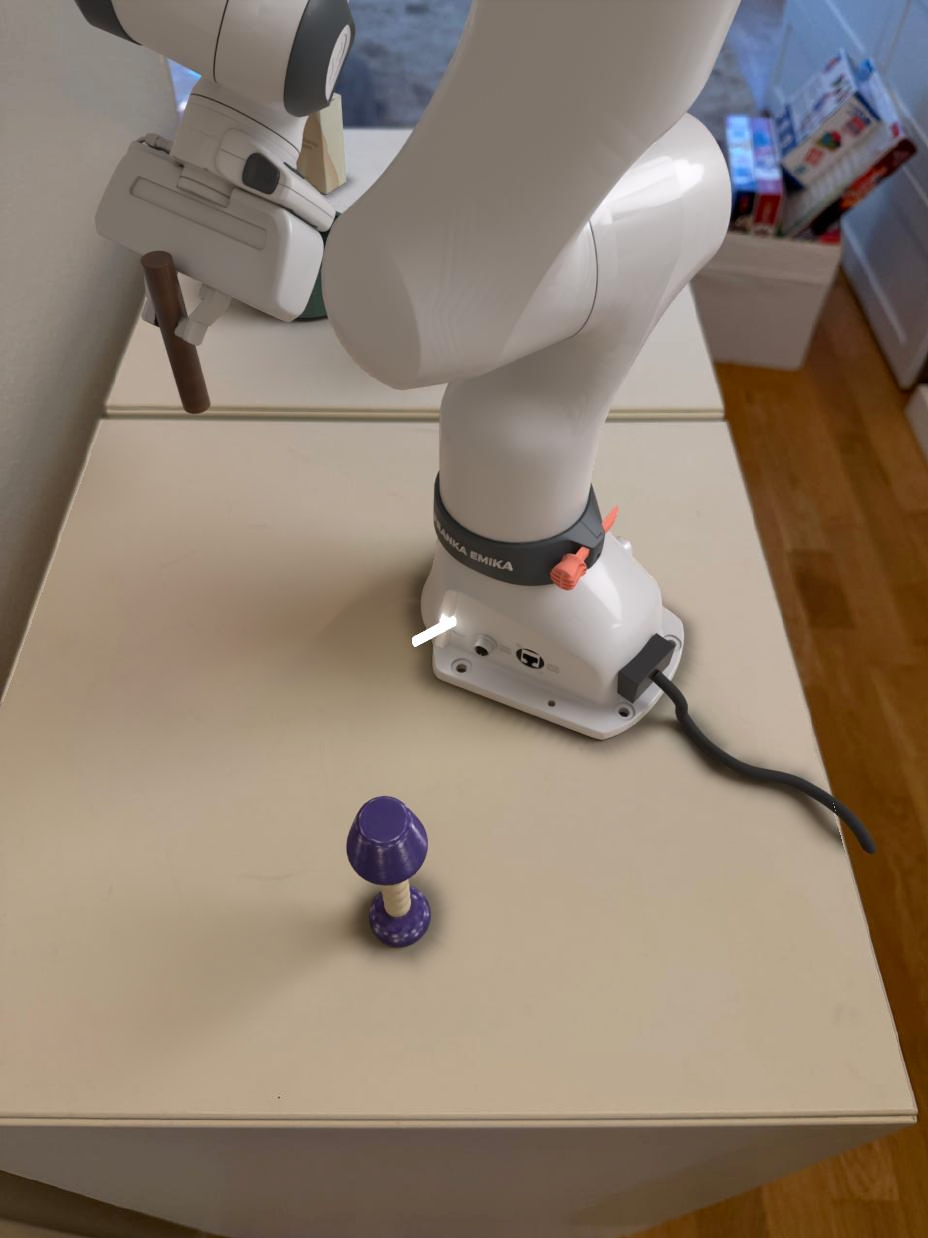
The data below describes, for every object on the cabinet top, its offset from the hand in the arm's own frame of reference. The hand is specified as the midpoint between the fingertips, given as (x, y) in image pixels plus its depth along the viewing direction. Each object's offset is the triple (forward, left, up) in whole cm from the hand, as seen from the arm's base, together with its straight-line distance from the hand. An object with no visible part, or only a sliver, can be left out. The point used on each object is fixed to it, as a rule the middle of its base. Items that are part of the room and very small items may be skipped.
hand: (170, 333), depth 74 cm
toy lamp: (-40, +23, -17) cm, 49 cm away
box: (+27, -49, -17) cm, 58 cm away
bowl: (+13, -30, -17) cm, 37 cm away
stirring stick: (0, -1, -8) cm, 8 cm away
